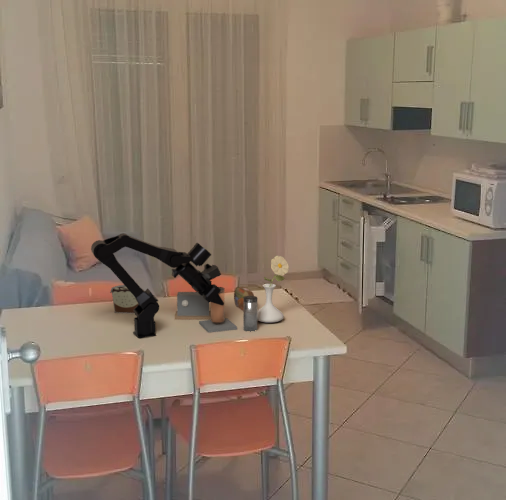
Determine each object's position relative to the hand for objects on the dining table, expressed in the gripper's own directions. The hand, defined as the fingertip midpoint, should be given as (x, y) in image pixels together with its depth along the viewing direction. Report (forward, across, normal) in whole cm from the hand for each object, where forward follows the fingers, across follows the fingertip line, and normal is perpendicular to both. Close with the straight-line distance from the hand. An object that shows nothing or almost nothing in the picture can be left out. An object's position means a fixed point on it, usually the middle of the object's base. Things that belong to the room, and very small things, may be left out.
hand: (221, 302), depth 253 cm
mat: (+5, 0, +7) cm, 9 cm away
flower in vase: (+20, 0, -8) cm, 22 cm away
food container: (-13, +30, +27) cm, 43 cm away
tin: (+18, +18, -5) cm, 25 cm away
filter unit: (+2, +15, +11) cm, 19 cm away
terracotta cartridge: (+4, 0, +6) cm, 7 cm away
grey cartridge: (+12, -7, 0) cm, 14 cm away
